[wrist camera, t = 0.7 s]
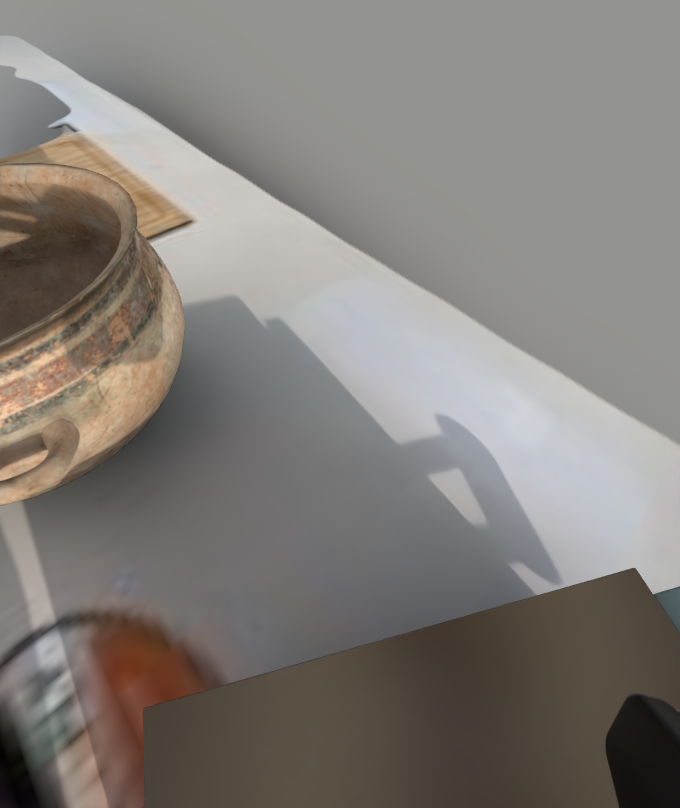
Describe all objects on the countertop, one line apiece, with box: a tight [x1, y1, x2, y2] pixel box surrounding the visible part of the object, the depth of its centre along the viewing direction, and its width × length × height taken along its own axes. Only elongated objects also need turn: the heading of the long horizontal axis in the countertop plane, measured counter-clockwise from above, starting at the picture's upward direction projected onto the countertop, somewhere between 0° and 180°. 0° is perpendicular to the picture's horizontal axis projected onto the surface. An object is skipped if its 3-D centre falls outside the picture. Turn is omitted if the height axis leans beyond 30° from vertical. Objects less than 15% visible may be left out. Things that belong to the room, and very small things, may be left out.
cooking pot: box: [0, 163, 185, 506], centre depth 30 cm, size 25×19×12 cm
